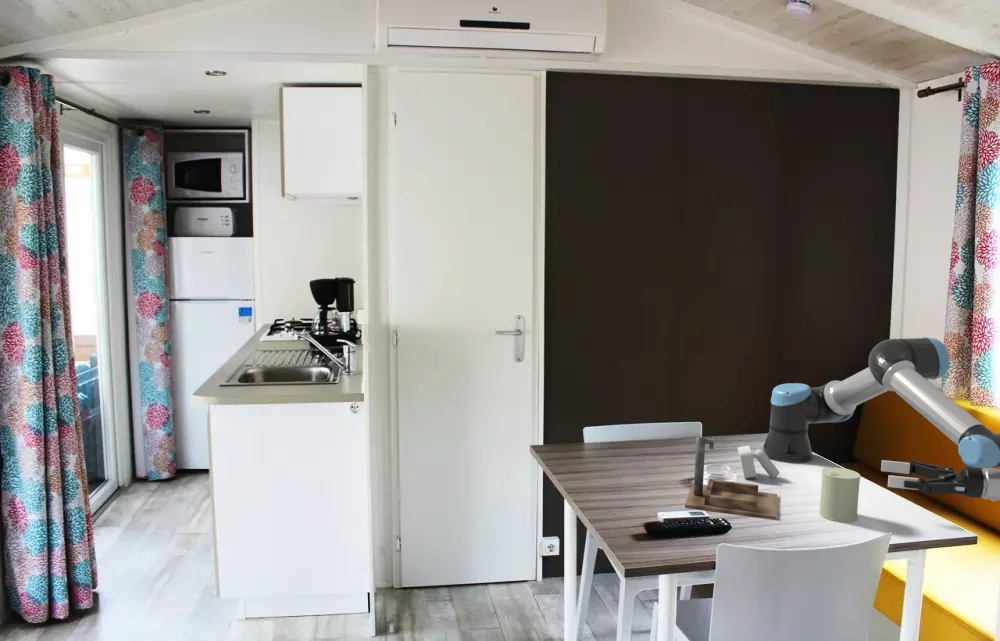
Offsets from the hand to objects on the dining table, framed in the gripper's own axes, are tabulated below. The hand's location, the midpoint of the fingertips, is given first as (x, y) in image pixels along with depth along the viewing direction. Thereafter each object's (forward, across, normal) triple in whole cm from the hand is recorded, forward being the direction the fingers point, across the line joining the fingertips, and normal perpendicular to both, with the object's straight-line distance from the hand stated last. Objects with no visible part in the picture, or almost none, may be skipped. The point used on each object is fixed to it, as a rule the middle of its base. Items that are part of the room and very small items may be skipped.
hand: (884, 473), depth 196 cm
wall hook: (+30, +26, -13) cm, 42 cm away
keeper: (+36, 0, -13) cm, 38 cm away
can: (+10, 0, -13) cm, 16 cm away
